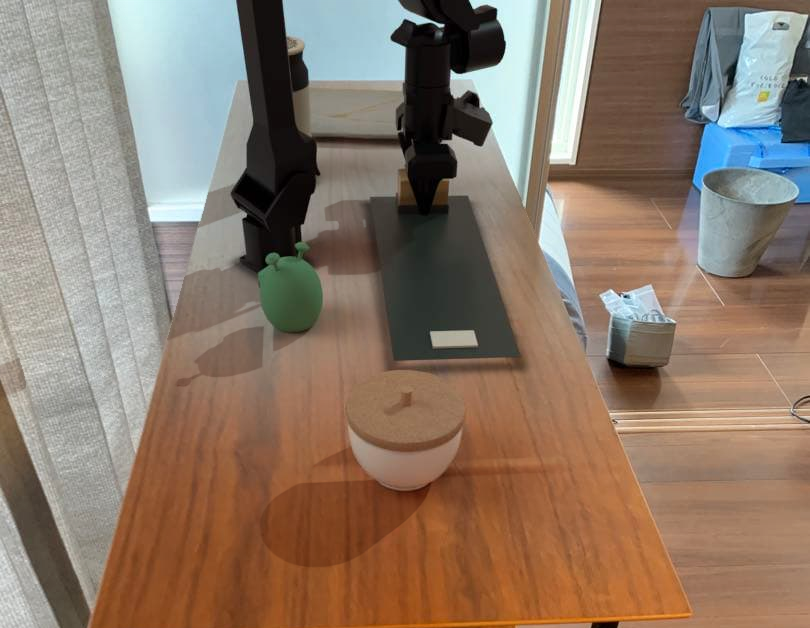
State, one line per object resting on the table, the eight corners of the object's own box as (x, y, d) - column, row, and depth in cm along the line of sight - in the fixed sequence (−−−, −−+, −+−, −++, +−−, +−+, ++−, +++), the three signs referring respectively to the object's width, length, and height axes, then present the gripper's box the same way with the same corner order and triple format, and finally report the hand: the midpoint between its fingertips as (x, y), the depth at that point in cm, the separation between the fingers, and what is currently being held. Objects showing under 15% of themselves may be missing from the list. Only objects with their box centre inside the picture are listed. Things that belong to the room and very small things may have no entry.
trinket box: (373, 422, 84) (373, 343, 77) (474, 450, 81) (483, 370, 74) (328, 489, 77) (324, 408, 70) (437, 521, 74) (443, 441, 67)
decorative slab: (267, 142, 131) (266, 129, 130) (282, 94, 146) (281, 82, 144) (438, 148, 132) (439, 135, 130) (436, 100, 146) (436, 88, 145)
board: (519, 365, 91) (521, 356, 90) (393, 369, 90) (393, 360, 89) (467, 203, 118) (467, 195, 118) (369, 204, 117) (369, 196, 116)
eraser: (448, 213, 114) (450, 180, 110) (398, 214, 113) (398, 181, 110) (444, 200, 116) (447, 167, 113) (395, 201, 116) (396, 168, 112)
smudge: (477, 347, 91) (477, 345, 91) (433, 348, 91) (433, 346, 91) (473, 332, 93) (473, 330, 93) (429, 333, 93) (430, 331, 93)
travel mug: (316, 169, 125) (309, 35, 112) (310, 192, 119) (303, 54, 106) (263, 167, 125) (250, 32, 112) (255, 190, 119) (241, 51, 106)
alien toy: (292, 304, 99) (286, 223, 91) (337, 329, 95) (334, 247, 88) (246, 326, 95) (236, 244, 88) (291, 353, 92) (284, 270, 84)
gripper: (504, 107, 97) (490, 234, 109) (479, 56, 110) (469, 174, 121) (410, 108, 96) (406, 235, 108) (396, 56, 109) (394, 175, 120)
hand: (421, 203), depth 114 cm, fingers open, 7 cm apart
